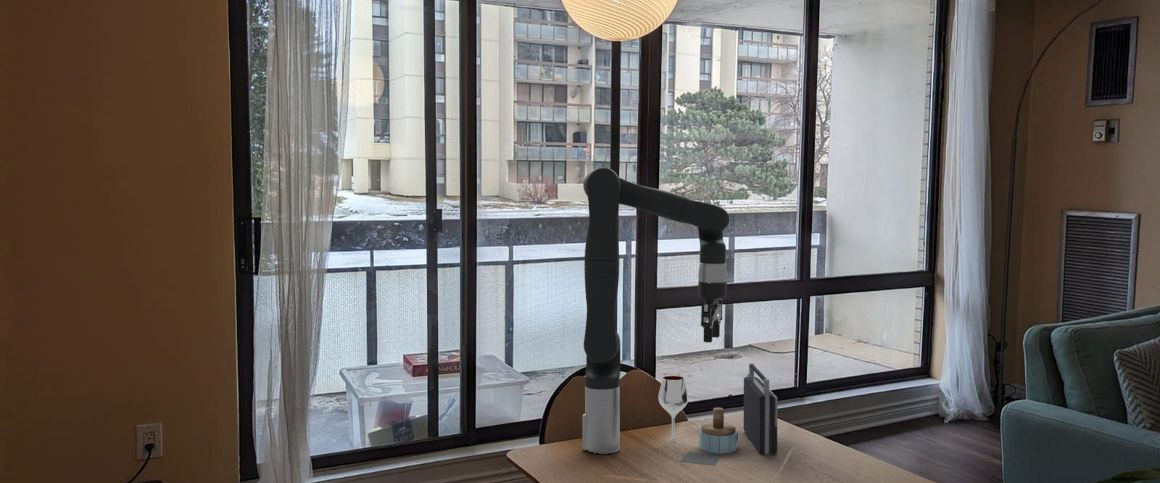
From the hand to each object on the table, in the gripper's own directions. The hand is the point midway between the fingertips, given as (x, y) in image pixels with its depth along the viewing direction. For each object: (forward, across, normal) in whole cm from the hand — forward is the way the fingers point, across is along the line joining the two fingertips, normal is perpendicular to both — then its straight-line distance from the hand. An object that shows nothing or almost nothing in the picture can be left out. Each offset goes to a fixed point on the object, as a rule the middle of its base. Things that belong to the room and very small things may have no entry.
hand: (711, 339), depth 229 cm
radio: (+29, -8, +12) cm, 33 cm away
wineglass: (+29, +1, -10) cm, 31 cm away
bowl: (+29, +3, +3) cm, 29 cm away
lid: (+24, +2, +3) cm, 24 cm away
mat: (+29, +14, +1) cm, 32 cm away
